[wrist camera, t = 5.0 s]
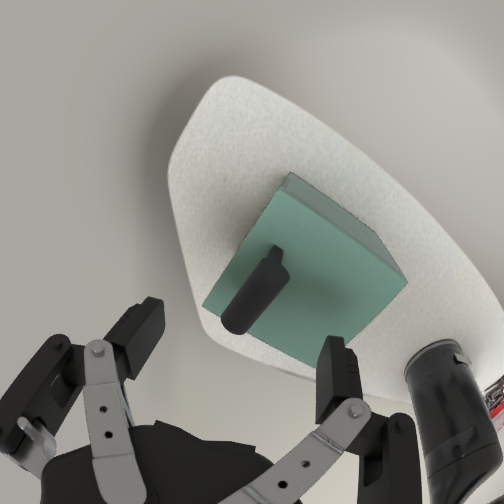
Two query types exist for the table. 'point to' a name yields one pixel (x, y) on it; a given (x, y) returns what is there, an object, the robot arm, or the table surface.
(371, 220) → the table surface
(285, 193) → the green square slab
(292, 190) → the green storage box
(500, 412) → the logo
